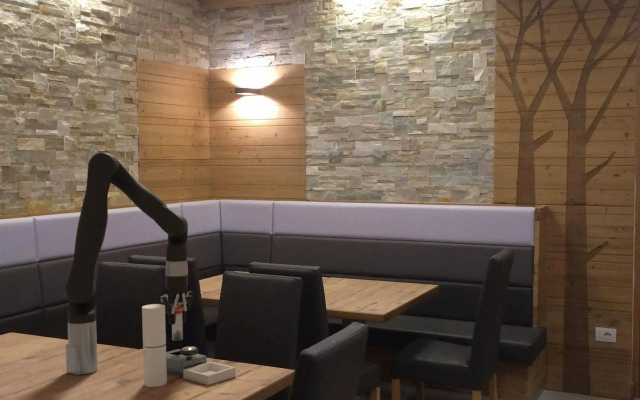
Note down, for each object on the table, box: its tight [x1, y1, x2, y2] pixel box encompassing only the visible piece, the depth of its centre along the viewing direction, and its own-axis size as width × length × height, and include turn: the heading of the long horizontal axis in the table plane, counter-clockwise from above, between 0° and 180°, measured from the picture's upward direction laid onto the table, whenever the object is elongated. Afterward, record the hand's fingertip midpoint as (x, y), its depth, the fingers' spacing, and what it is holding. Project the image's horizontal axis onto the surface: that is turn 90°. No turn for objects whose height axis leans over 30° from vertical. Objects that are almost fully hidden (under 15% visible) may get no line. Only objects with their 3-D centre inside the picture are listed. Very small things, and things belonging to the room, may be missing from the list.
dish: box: [183, 361, 237, 386], centre depth 242 cm, size 12×12×3 cm
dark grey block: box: [166, 346, 208, 378], centre depth 251 cm, size 10×15×8 cm, turn 50°
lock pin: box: [171, 305, 184, 342], centre depth 253 cm, size 4×4×11 cm
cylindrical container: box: [141, 303, 168, 388], centre depth 235 cm, size 7×7×25 cm
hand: (177, 322), depth 253 cm, fingers closed on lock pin, 4 cm apart
